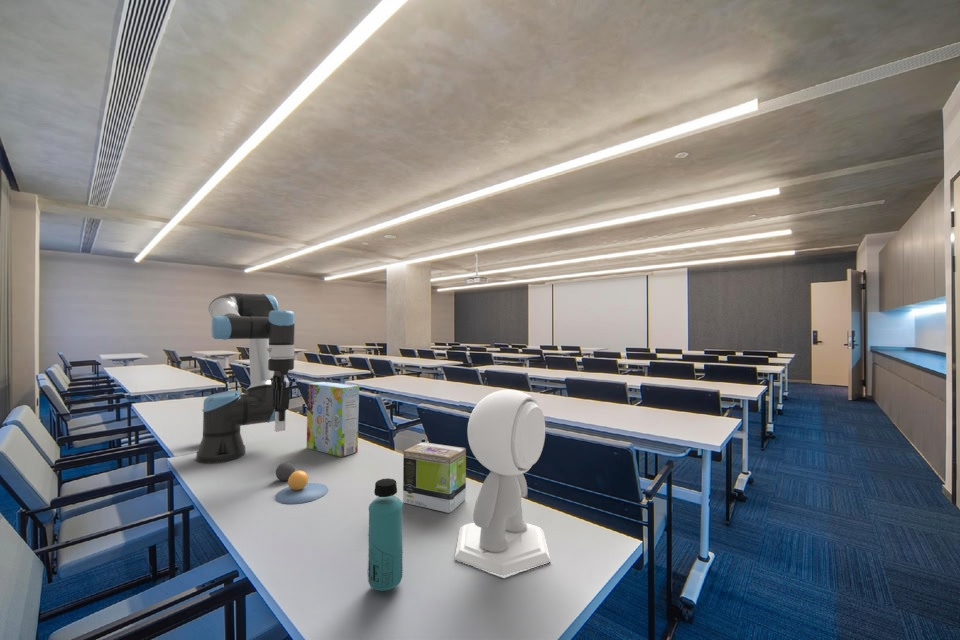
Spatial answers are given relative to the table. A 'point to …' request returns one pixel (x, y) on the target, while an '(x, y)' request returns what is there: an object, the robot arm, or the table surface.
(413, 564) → the table surface
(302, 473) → the object ball
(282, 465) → the dark gray ball
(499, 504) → the white cartoon figure
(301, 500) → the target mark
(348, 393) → the snack box
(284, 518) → the table surface
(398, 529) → the beverage bottle
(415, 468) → the tea box
